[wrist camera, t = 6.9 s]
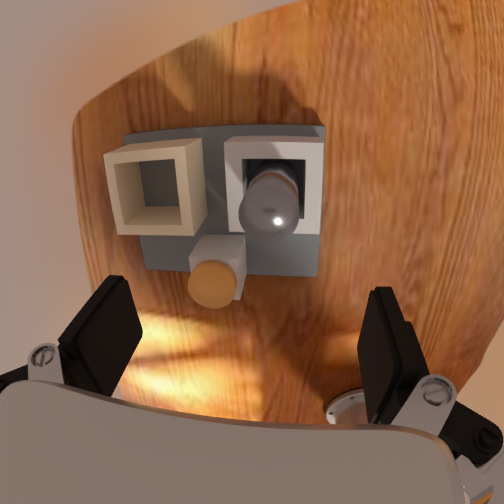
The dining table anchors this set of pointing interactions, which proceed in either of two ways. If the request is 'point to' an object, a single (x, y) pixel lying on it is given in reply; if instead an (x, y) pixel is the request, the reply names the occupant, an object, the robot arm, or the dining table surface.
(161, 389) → the dining table surface
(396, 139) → the dining table surface
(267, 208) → the grey rounded cylinder
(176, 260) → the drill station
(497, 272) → the dining table surface
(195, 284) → the button
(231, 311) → the dining table surface
